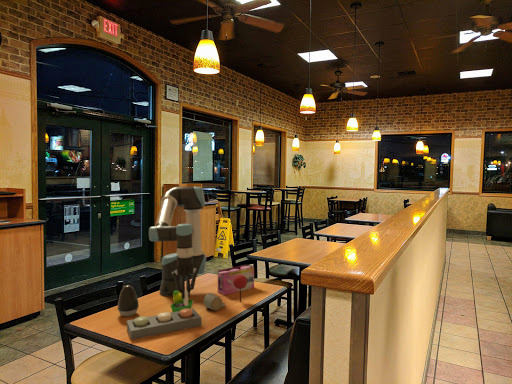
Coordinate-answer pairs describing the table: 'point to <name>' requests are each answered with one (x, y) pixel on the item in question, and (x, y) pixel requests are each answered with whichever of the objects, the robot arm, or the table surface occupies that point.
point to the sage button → (141, 321)
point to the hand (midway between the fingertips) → (185, 304)
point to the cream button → (164, 317)
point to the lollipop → (240, 282)
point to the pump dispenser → (128, 301)
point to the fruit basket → (179, 302)
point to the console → (163, 325)
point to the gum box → (228, 277)
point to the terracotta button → (186, 313)
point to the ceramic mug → (213, 301)
